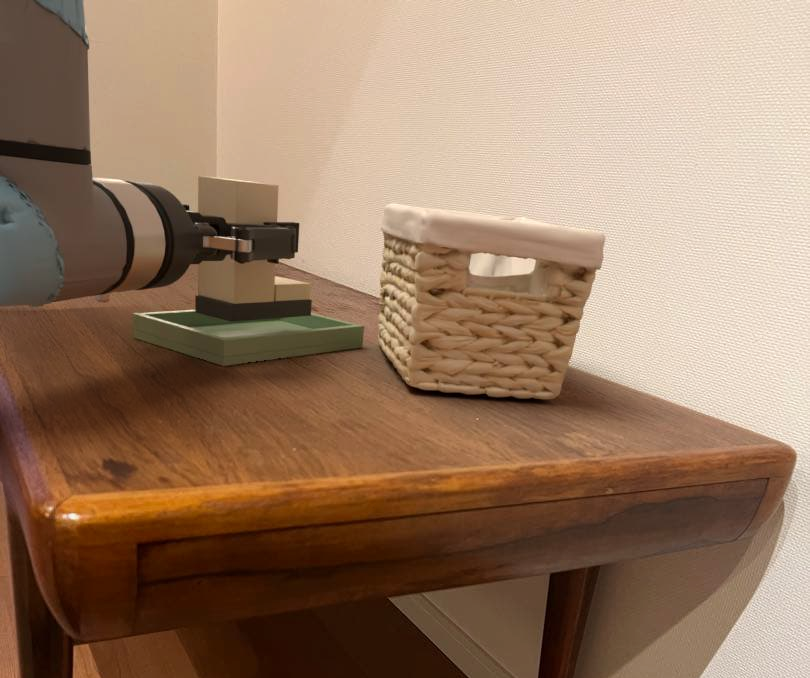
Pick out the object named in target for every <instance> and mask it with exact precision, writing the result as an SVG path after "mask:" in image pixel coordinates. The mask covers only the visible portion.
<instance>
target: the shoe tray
mask: <svg viewBox="0 0 810 678" xmlns="http://www.w3.org/2000/svg"><path fill="white" fill-rule="evenodd" d="M131 315H132V316H131V317H132V320H131V321H132V339H136V340H139V341H142V342H146V343H148V344H151V345H154V346H157V347H161V348H164V349H168V350H170V349H171V350H170V351H174V352H177V353H181V354H183V355H187V356H190V357H192V358H196V359H199V358H200V360H202V359H203V360H202V361H205V360H206V362H209V363H213V364H215V365H219V366H222V367H225V366H226V367H228V366H236V365H242V363H243V364H249V363H248V362H251V363H256V361H258V362H263V361H264V360H266V361H272V360H273V361H274V360H279V359H278V358H281V359H287V357H288V358H296V357H302V356H303V357H304V356H310V355H318V354H323V353H324V354H326V353H331V352H339V351H340V352H341V351H346V350H347V351H348V350H354V349H362V348H363V343H364V334H365V325H363V324H358V323H356V322H355V323H354V322H350V321H347V320H342V319H338V318H333V317H330V316H325V315H321V314H318V313H314V312H311V316H300V317H287V318H274V319H261V320H248V321H235V322H230V321H226V320H223V319H219V318H215V317H211V316H207V315H204V314H200V313H196V312H195V309H184V310H183V309H181V310H167V311H166V310H165V311H150V312H147V311H146V312H132V314H131ZM264 362H265V361H264Z"/></svg>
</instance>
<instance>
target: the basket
mask: <svg viewBox="0 0 810 678" xmlns="http://www.w3.org/2000/svg"><path fill="white" fill-rule="evenodd" d="M380 230H381V231H382V235H383V245H384V247H383V249H382V261H381V268H382V270H381V272H380V278H379V285H380V288H379V291H380V294H379V301H378V304H379V310H380V312H379V314H378V320H377V321H378V323H377V331H378V333H377V343H378V345H379V347H380V348H381V350H382V351H383V353H384V355H385V356H386V357H387V359H388V360H389V362H391V363H392V366H393V367H394V368H395V369H396V371H397V373H398V374H399V375H400V376H401V379H402V380H403V381H404V382H405V383H406V385H408V386H410V387H413V388H417V389H420V390H423V391H438V392H441V393H446V394H449V393H450V394H452V393H459V394H464V395H467V396H469V395H471V396H472V395H482V394H485V395H486V396H488V397H492V398H508V397H513V398H516V399H520V400H525V399H531V398H532V399H535V400H554V399H556V398H558V396H559V395H561V394H560V393H561V391H562V386H563V382H564V380H565V377H566V373H567V372H568V368H569V365H570V364H569V363H570V360H571V359H572V355H573V352H574V346H575V343H576V338H577V334H578V333H579V331H580V328H581V320H582V319H583V316H584V308H585V306H586V304H587V301H588V300H589V298H590V296H591V292H592V288H593V284H594V282H595V280H596V272H597V271H598V270H599V271H600V270H601V269H602V266H603V265H602V264H603V260H604V247H605V243H606V235H605V233H604V232H603V231H599V230H592V229H586V228H577V227H570V226H565V225H557V224H552V223H547V222H544V221H539V220H535V219H531V218H527V217H525V216H520V217H517V216H510V215H509V216H508V215H507V216H501V215H494V214H488V213H481V212H480V213H479V212H471V211H463V210H454V209H453V210H452V209H442V208H431V207H430V208H429V207H423V206H422V207H421V206H415V205H408V204H400V203H395V202H394V203H388V204H386V205H384V208H383V217H382V219H381V225H380Z"/></svg>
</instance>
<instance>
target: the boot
mask: <svg viewBox="0 0 810 678" xmlns="http://www.w3.org/2000/svg"><path fill="white" fill-rule="evenodd" d="M197 184H198V185H197V212H198V213H200V214H201V215H210V216H217V217H223V218H224V219H225V220H226V223H239V224H259V225H263V223H264V222H278V214H279V213H278V212H279V211H278V209H279V187H280V186H279V185H278V184H272V183H266V182H257V181H249V180H242V179H234V178H233V179H232V178H225V177H224V178H223V177H216V176H207V175H206V176H205V175H198V176H197ZM205 224H208V223H205ZM208 225H209V224H208ZM311 286H312V285H311V283H309V282H305V281H300V280H295V279H291V278H286V277H282V276H276V263H270V262H267V260H255V261H251V262H246V263H245V264H241V263H239V262H236V261H234V259H231V255H226V257H225V259H224V260H223V261H202V262H201V263H200V264H197V294H195V296H194V297H195V298H194V299H195V300H194V305H195V306H194V310H195V312H196V313H200V314H204V315H207V316H211V317H215V318H219V319H223V320H226V321H230V322H235V321H248V320H261V319H274V318H287V317H300V316H311V313H312V307H313V305H312V304H313V303H312V302H313V300H312V299H311Z"/></svg>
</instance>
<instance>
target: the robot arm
mask: <svg viewBox="0 0 810 678" xmlns="http://www.w3.org/2000/svg"><path fill="white" fill-rule="evenodd" d="M89 50H90V40H89V36H88V33H87V23H86V11H85V1H84V0H0V307H1V308H2V307H16V306H17V307H18V306H19V307H20V306H28V307H33V308H37V307H44V305H48V304H49V305H50V304H51V303H57V302H65V301H71V300H76V299H82V298H86V297H88V298H89V297H95V300H96V301H97V302H99V303H102V304H103V303H104V304H105V303H108V302H109V301H110V294H113V293H124V292H131V291H144V290H149V289H150V290H152V289H158V288H163V287H167V286H170V285H172V284H174V283H176V282H177V281H179V280H180V279H181V278H182V277H183V276H184V275H185V273H186V272H187V271H188V269H189V267H190V266H191V265H198V264H200V263H201V262H202V261H223V260H224V259H225V257H226V255H231V259H234V261H236V262H239V263H241V264H245V263H246V262H251V261H255V260H267V262H270V263H275V265H279V264H280V260H283V259H284V260H285V259H286V260H291V259H295V258H296V254H297V253H299V242H300V241H299V239H300V222H295V221H277V222H264V223H263V225H259V224H239V223H226V220H225V219H224V218H223V217H217V216H210V215H201V214H200V213H198V211H192V210H190V204H184V203H182V201H180V199H179V198H177V196H176V195H175V194H173V192H171V191H170V190H168V189H167V188H165V187H163V186H161V185H159V184H156V183H152V182H145V181H132V180H131V181H130V180H122V179H117V178H116V179H115V178H105V177H93V165H92V152H91V151H92V150H91V126H90V125H91V124H90V123H91V121H90V90H89V87H90V86H89V83H90V82H89V52H88V51H89ZM205 223H208V224H209V225H208V224H205Z"/></svg>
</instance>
